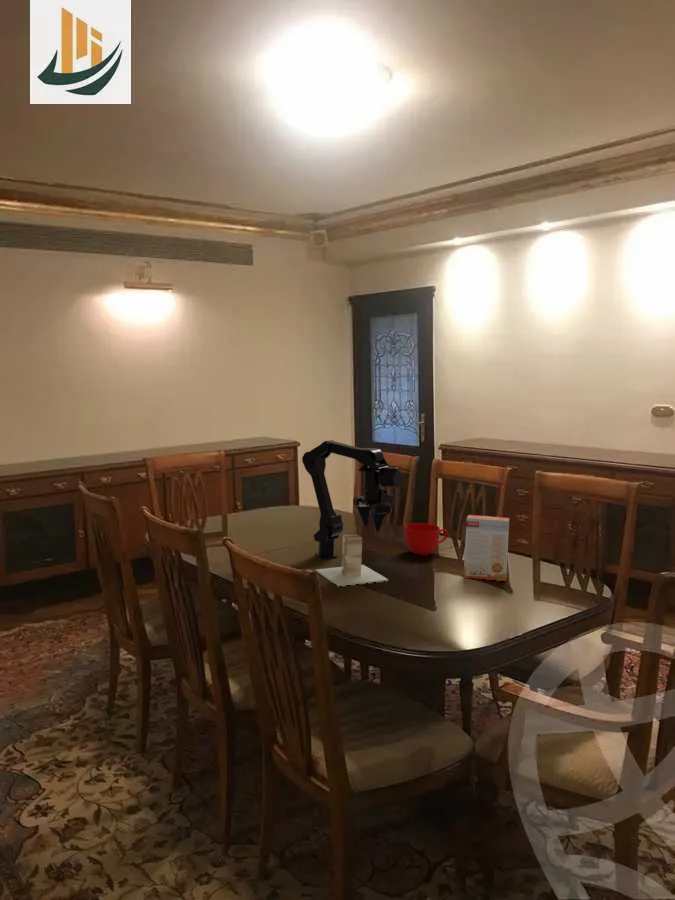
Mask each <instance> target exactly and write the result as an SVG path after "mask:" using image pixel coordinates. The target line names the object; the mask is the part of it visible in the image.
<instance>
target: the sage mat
mask: <svg viewBox="0 0 675 900" xmlns="http://www.w3.org/2000/svg"><path fill="white" fill-rule="evenodd" d="M316 571H317V573H318V574H319V575H321V576H322V577H323V578H325V580H328V581H329V582H331V583H332V584H333V583H334V584H333V585H335V584H336V585H337V586H336V585H335V586H336V587H338V588H340V587H339V586H342V587H347V586H346V585H351V586H357V585H356V584H359V585H365V584H366V583H368V584H374V583H373V582H376V583H383V582H384V581H385V582H389V578H386V577H385V576H384V575H382V574H380V573H378V572H377V571H374V570H373V569H371V568H369V567H368V566H366V565H365V564H361V576H354V577H346V576H345V575H344V574H342V566H338V567H328V568H319V569H315V572H316ZM385 582H384V583H385Z"/></svg>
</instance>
